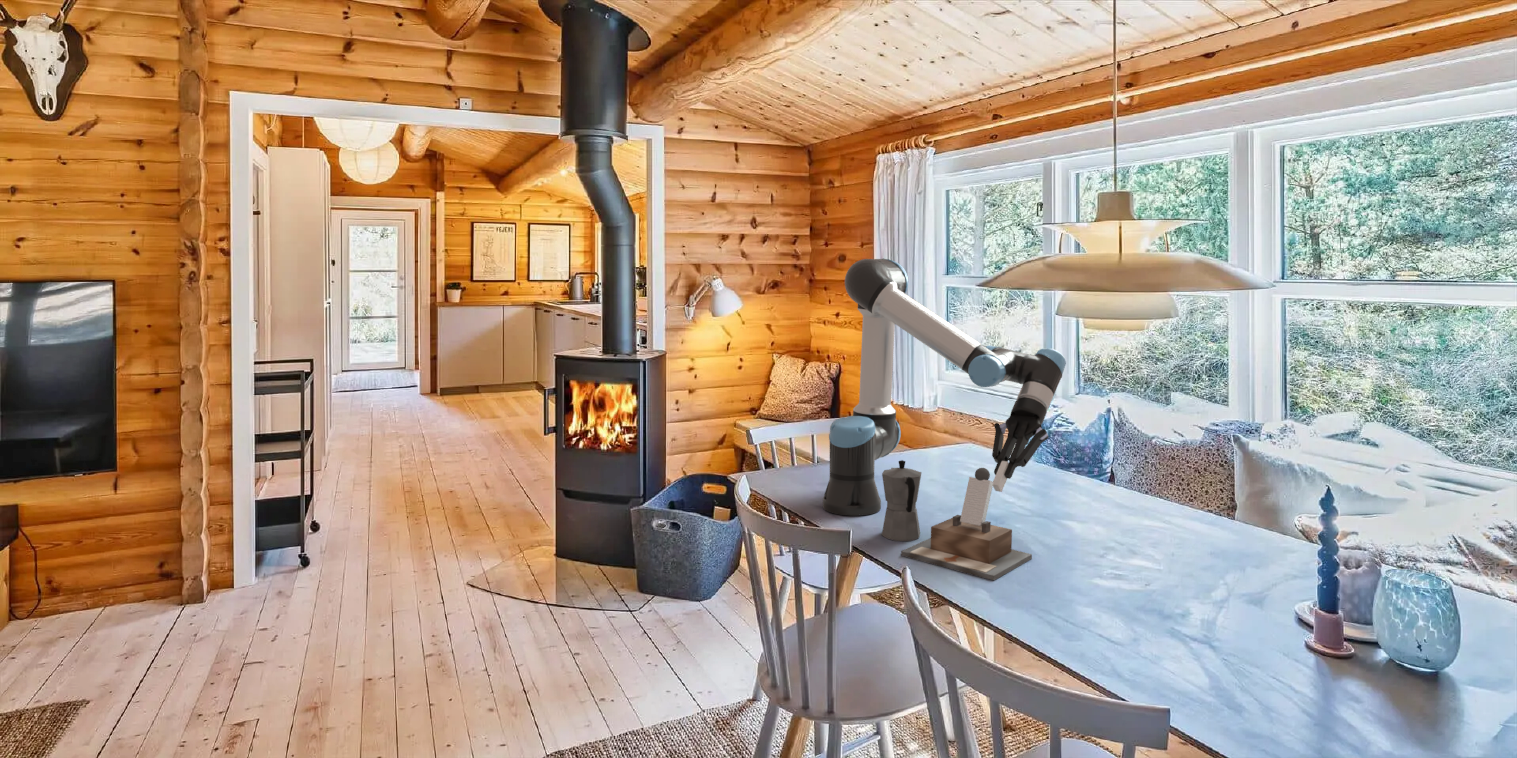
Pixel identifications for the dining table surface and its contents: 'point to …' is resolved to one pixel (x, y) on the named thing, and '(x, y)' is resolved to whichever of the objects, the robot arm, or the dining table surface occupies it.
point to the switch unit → (969, 549)
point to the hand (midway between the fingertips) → (996, 488)
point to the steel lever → (977, 498)
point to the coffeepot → (901, 503)
